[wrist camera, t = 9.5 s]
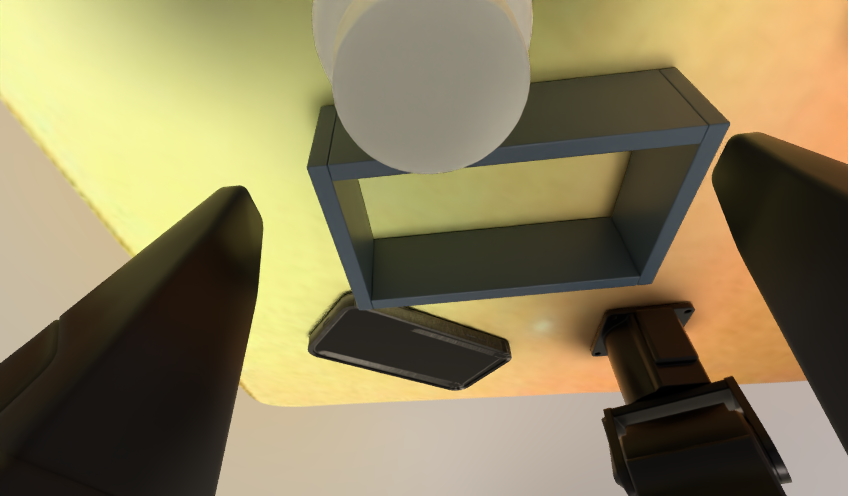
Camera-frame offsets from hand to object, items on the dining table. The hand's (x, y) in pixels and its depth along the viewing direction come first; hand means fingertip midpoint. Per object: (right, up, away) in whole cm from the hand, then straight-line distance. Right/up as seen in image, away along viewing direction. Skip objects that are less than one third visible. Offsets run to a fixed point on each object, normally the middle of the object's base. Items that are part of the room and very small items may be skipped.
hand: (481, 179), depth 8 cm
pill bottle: (-1, +9, +7) cm, 12 cm away
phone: (-2, -9, +26) cm, 28 cm away
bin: (+2, +3, +14) cm, 15 cm away
